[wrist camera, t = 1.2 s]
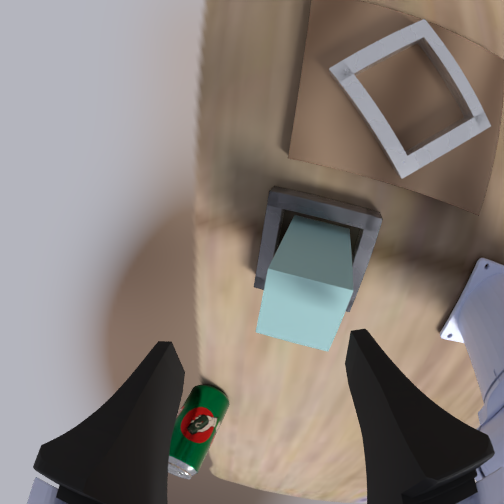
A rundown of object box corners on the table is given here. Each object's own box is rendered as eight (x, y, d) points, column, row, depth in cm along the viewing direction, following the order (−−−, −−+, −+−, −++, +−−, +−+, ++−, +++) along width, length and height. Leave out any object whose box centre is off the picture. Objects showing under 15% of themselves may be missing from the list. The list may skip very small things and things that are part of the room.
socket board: (498, 62, 10) (514, 57, 7) (473, 211, 15) (487, 223, 13) (313, -2, 12) (309, -17, 10) (290, 156, 18) (283, 160, 16)
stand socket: (379, 212, 18) (382, 219, 16) (349, 300, 21) (349, 312, 20) (274, 186, 19) (269, 190, 18) (259, 277, 23) (253, 287, 21)
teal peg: (349, 228, 19) (353, 290, 12) (334, 276, 21) (328, 351, 14) (294, 214, 20) (268, 268, 13) (284, 263, 21) (255, 332, 15)
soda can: (188, 379, 32) (143, 453, 22) (224, 384, 30) (182, 468, 20) (201, 402, 34) (163, 471, 24) (235, 408, 32) (200, 484, 22)
